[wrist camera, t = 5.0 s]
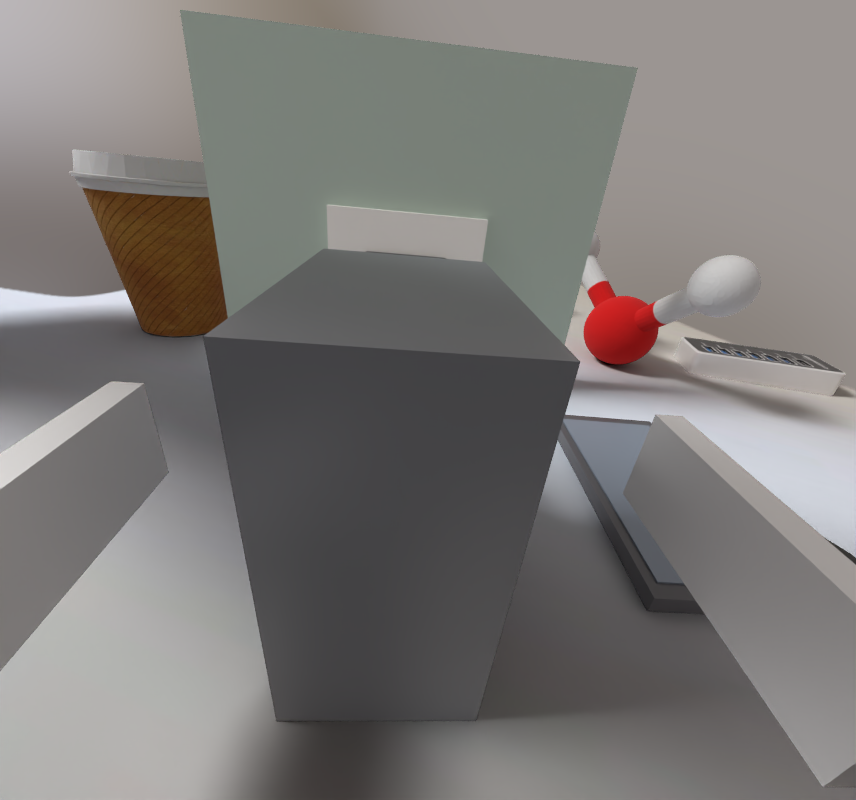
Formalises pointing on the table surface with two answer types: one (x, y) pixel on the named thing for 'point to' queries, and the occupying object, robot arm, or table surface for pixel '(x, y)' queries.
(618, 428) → the phone slab
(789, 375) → the multiport hub
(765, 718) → the table surface
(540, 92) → the board
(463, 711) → the plug
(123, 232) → the disposable coffee cup
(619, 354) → the molecular model
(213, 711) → the table surface
